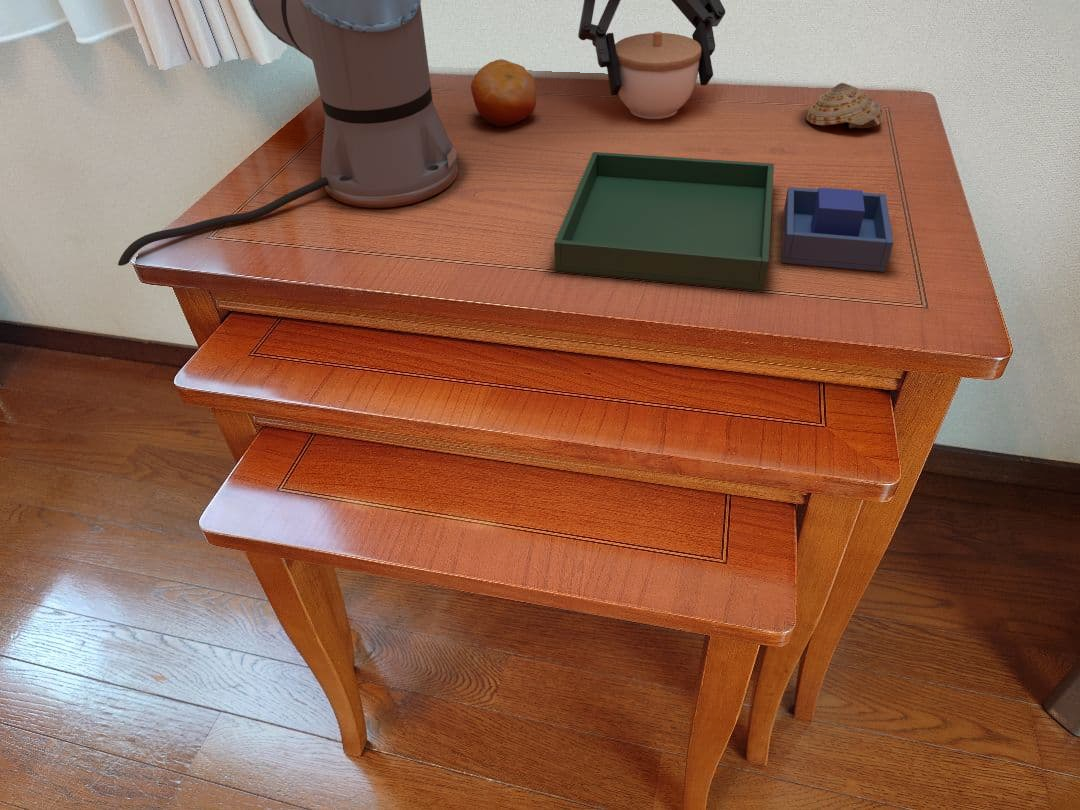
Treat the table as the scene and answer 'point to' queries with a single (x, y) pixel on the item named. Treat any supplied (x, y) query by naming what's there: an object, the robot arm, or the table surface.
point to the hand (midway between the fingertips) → (662, 85)
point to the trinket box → (657, 72)
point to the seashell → (845, 108)
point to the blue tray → (836, 249)
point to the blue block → (838, 212)
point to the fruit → (503, 93)
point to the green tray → (670, 221)
